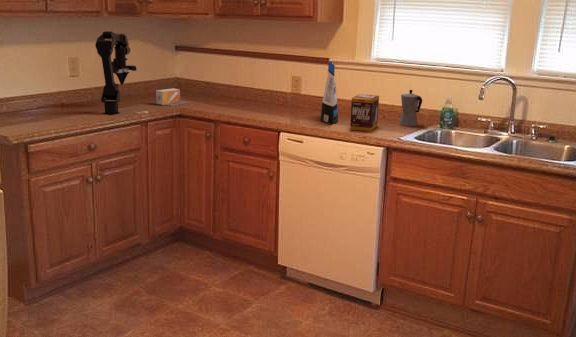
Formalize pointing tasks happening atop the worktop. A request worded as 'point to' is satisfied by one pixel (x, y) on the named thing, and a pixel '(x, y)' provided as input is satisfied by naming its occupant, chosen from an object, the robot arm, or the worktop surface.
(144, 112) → the coaster
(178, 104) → the mat
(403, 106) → the coffeepot
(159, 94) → the small box
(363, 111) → the supplement box
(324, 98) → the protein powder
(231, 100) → the worktop surface
